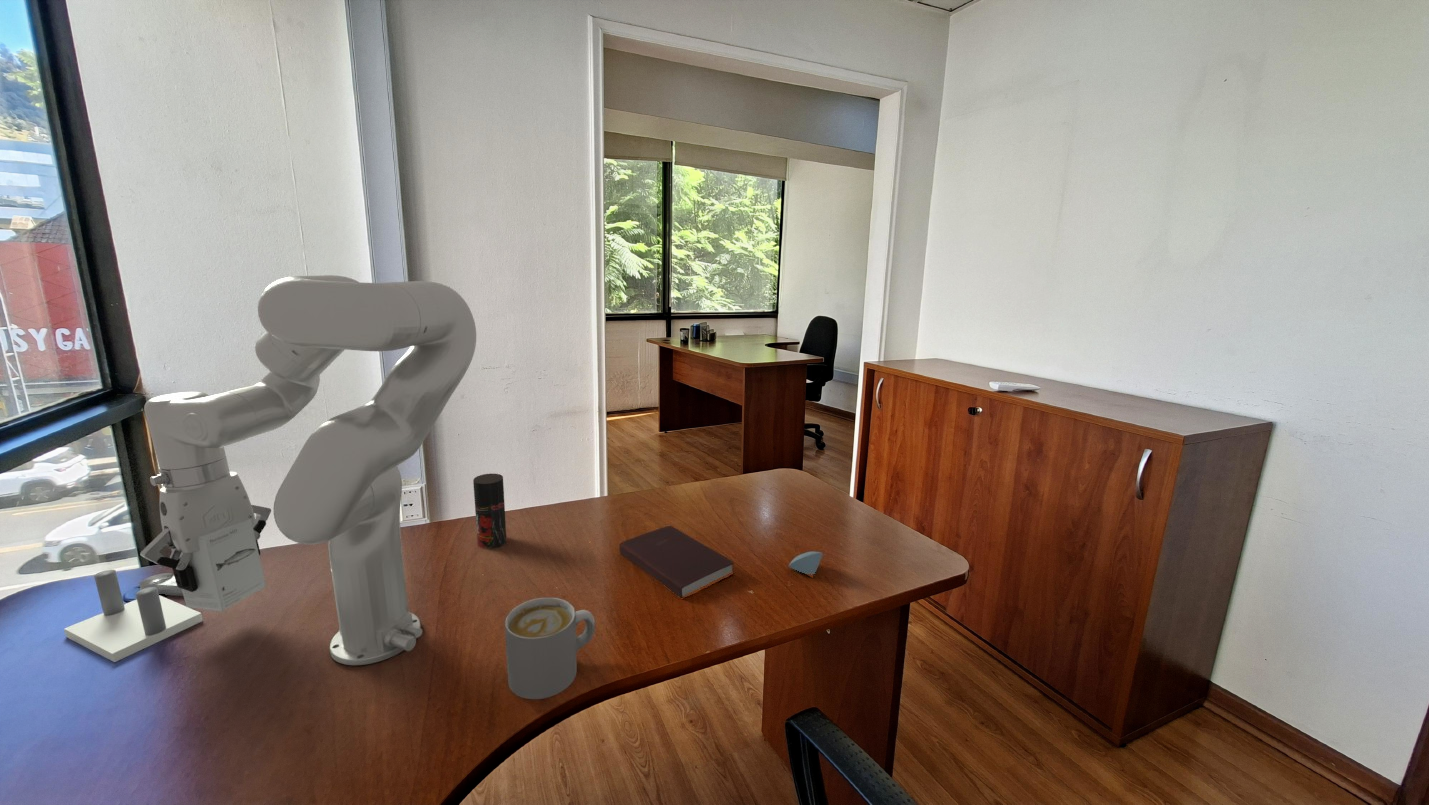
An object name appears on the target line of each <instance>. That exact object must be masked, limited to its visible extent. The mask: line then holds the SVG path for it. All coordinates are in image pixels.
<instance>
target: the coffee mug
mask: <svg viewBox="0 0 1429 805" xmlns="http://www.w3.org/2000/svg"><path fill="white" fill-rule="evenodd" d="M581 621H584V624H585V627H584V631H583V632H582V633H581V634H579V635H577V626H578V624H579V623H580V622H581ZM595 629H596V620H595V617H594V616H593V613H592V612H590V611H589V610H587V609H580V610H576V609H575V607H574V606H573V605H572V604H571V603H570V602H569V601H567V600H564V599H563V598H562V599H561V598H559V597H550V596H549V597H538V598H533V599H530V600H527V601H524V602H522V603H520V604H519V605H516V606H515V607H514V608H513V609H512V610H511V611H509V612H508V614H507V616H506V617H505V621H504V635H505V651H506V652H505V653H506V667H507V668H506V669H507V681H508V682H507V683H508V687H509V689H510V691H511V692H512V693H513V694H514V695H516V696H517V697H519V698H522V699H525V700H526V699H527V700H541V699H542V700H543V699H547V698H551V697H553V696H556V695H558V694H560V693H562V692H564V690H566V689H567V688H569V686H570V685H572V683H573V682H574V681H575V678H576V677H577V673H578V670H577V669H578V666H577V664H578V663H577V662H578V661H577V653H578V651H579V650H580V649H582V648H583V647H584V646H585V645H587V644H588V643H589V642H590V641H591V640H592V639H593V637H594V635H595V631H596V630H595Z"/></svg>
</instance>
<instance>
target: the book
mask: <svg viewBox="0 0 1429 805" xmlns="http://www.w3.org/2000/svg"><path fill="white" fill-rule="evenodd" d="M618 548H619V554H620V555H622V556H623V557H624V558H626V559H627V560H628V561H630V562H631V563H633V564H634V565H636V566H637V568H639V567H640V568H639V569H641V570H642V571H643V570H644V572H645V573H646V574H647V573H648V574H647V575H649V576H650V575H651V576H652V577H654V578H655V579H656V580H658V581H659V582H661V583H662V584H663V585H665V586H666V587H667V588H668V589H670V590H671V591H672V592H674V594H673V595H675V594H676V595H677V596H679V597H680V598H683V596H685V595H687V594H689V593H691V592H693V591H695V590H697V589H699V588H700V587H703V586H705V585H707V584H709V583H710V582H712V581H714V580H717V579H719V578H721V577H723V576H725V575H727V574H729V573H731V572H733V566H734V565H735V562H734V561H733V560H731V559H729V558H727V557H726V556H724V555H723V554H721V553H719V552H717V551H716V550H714V549H712V548H711V547H708V546H707V545H705V544H703V543H701V541H698V540H696V539H695V538H693V537H691V536H689V535H687V534H686V533H685V532H683V531H681V530H679V529H678V528H676V527H674V526H673V525H669V526H668V525H666V526H664V527H661V528H657V529H654V530H652V531H648V532H646V533H643V534H640V535H637V536H634V537H632V538H629V539H627V540H624V541H622V542H620V543H619V546H618ZM651 576H650V577H651ZM652 577H651V578H652ZM654 578H653V579H654ZM655 579H654V580H655ZM656 580H655V581H656ZM658 581H657V582H658ZM659 582H658V583H659ZM662 584H661V585H662ZM663 585H662V586H663ZM666 587H665V588H666ZM667 588H666V589H667ZM668 589H667V590H668ZM670 590H669V591H670ZM671 591H670V592H671ZM672 592H671V593H672ZM676 595H675V596H676ZM677 596H676V597H677ZM680 598H679V599H680Z"/></svg>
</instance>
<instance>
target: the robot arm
mask: <svg viewBox="0 0 1429 805" xmlns="http://www.w3.org/2000/svg"><path fill="white" fill-rule="evenodd" d="M257 314H258V318H259V321H260V323H261V325H262V327H263V328H264V330H265V332H263V333H262V335H260V336H259V338H257V339H256V342H255V346H254V349H255V350H254V351H255V354H256V357H257V358H258V361H259V362H260V364H261V365H262V366H264V367H265V369H266V370H268V371H269V372H268V373H267V374H266V375H265V376H264V377H263V378H262V379H261V380H259V381H258V382H257V383H256V384H253V385H251V386H250V385H249V386H245V387H240V388H236V389H232V390H228V391H224V392H221V393H216V394H213V395H209V394H207V393H205V392H200V391H183V392H173V393H168V394H162V395H158V396H154V397H152V398H150V399H148V400H147V401H146V402H145V404H144V407H143V408H144V409H143V410H144V415H145V419H146V422H147V426H148V430H149V433H150V436H151V441H152V445H153V448H154V452H155V456H156V460H157V463H158V467H159V468H158V469H157V470H158V474H156V475H155V476H151V477H150V478H149V481H150V484H151V485H152V486H153V487H156V486H159V485H160V486H163V487H161V488H160V489H159V516H160V524H161V529H162V531H161V532H160V533H159V534H157V536H156V537H155V538H154V539H152V541H150V543H148V545H146V546H145V547H144V549H143V550H141V551H140V554H139V555H140V557H143V558H144V559H146V560H148V561H150V562H153V563H154V564H156V565H160V566H162V567H166V568H170V569H172V572H173V573H172V574H173V576H174V577H175V580H176V584H177V586H178V587H179V588H181V589H184V590H187V591H190V592H194V591H196V590H197V589H198V586H197V582H196V579H195V575H194V571H193V568H192V567H190V566H188V562H189V560H190V558H191V556H192V554H193V553H194V552H197V551H199V550H200V547H199V543H198V537H200V536H203V535H206V534H208V533H211V532H214V531H217V530H219V529H222V528H225V527H228V526H231V525H234V524H237V523H239V522H242V521H245V520H248V519H249V518H250V519H251V521H252V526H253V530H254V535H255V539H256V544H257V548H258V553H259V556H261V550H260V546H259V542H258V541H259V540H260V538H261V533H262V532H263V530H264V529H265V527H266V525H267V521H268V519H269V517H270V514H271V512H272V509H271V508H270V507H266V506H261V505H255V504H252V503H251V501H250V497H249V495H248V492H247V490H246V488H245V486H244V484H243V482H242V480H241V478H240V476H239V474H238V473H237V472H236V471H230V466H229V463H228V459H227V455H226V451H225V447H228V446H230V445H234V444H237V443H239V442H242V441H246V440H248V439H249V438H253V437H255V436H256V437H257V436H258V435H262V434H266V433H268V432H271V431H274V430H277V429H278V428H281V427H283V426H284V425H286V424H287V423H289V422H290V421H291V420H293V419H294V418H295V417H296V416H297V415H298V414H299V413H300V412H301V411H302V410H303V409H304V408H305V407H306V406H308V405H309V404H310V403H311V401H312V400H314V398H315V396H317V395H316V394H318V393H317V392H318V390H319V386H320V381H321V378H320V377H321V376H320V375H321V374H322V373H323V372H324V371H325V370H326V369H327V368H328V367H329V366H330V365H331V364H332V363H333V362H335V360H336V359H337V358H338V357H339V356H340V355H341V354H342V353H344V351H345V350H346V351H358V352H359V351H361V352H393V351H397V350H402V349H405V348H408V350H407V351H406V352H405V353H404V354H403V355H402V356H401V357H400V359H399V360H398V361H396V363H395V364H394V365H393V366H392V367H391V369H390V370H389V372H388V373H387V375H386V377H385V379H384V381H383V382H382V384H381V385H380V387H379V388H378V390H377V391H376V393H375V394H374V396H373V397H372V398H371V399H370V400H369V401H368V402H367V403H364V404H362V405H361V406H358V407H356V408H354V409H351V410H348V411H346V412H343V413H340V414H338V415H335V416H333V417H331V418H330V419H328V420H326V421H324V422H323V423H322V424H320V425H319V426H318V427H317V428H316V429H315V430H314V431H313V432H312V433H311V434H310V435H309V436H308V438H307V440H306V441H305V443H304V444H303V446H302V448H301V450H300V451H299V453H298V455H297V457H296V459H295V460H294V461H293V463H292V465H291V467H290V469H289V470H288V472H287V474H286V475H285V477H284V479H283V480H282V483H281V484H280V486H279V488H278V490H277V493H276V495H275V498H274V502H273V519H274V522H275V524H276V527H277V529H278V530H279V531H280V532H281V534H282V535H283V536H284V537H285V538H287V539H288V540H289V541H290V540H291V541H292V542H294V543H297V544H301V545H317V544H318V545H319V544H323V543H325V542H328V556H329V564H330V572H331V578H332V586H333V592H334V600H335V608H336V613H337V620H338V621H337V622H338V627H339V628H338V629H339V630H338V632H336V634H335V635H334V636H333V637H332V639H331V640H330V643H329V652H330V653H329V654H330V657H331V658H332V659H333V660H334V661H335V662H337V663H339V664H343V665H346V666H363V665H371V664H375V663H378V662H379V663H380V662H382V661H384V660H387V659H390V658H392V657H395V656H397V655H398V654H400V653H402V652H403V651H406V652H410V651H412V650H413V649H414V648H415V647H416V644H417V639H418V638H420V637H421V636H422V634H423V628H421V627H422V626H421V625H422V624H421V620H420V618H419V617H418V616H417V615H416V614H414V613H412V612H410V611H409V606H408V605H409V604H408V595H407V585H406V576H405V566H404V559H403V558H404V557H403V548H402V536H401V525H400V524H401V522H400V518H401V517H400V513H401V503H402V502H401V501H402V492H403V482H402V474H401V472H400V469H399V467H398V466H399V465H401V464H403V463H404V462H406V461H407V460H409V459H411V458H412V457H413V456H414V455H415V454H416V453H417V452H418V450H419V448H421V447H422V444H423V443H424V441H425V439H426V438H427V436H428V434H429V433H430V431H431V430H432V428H433V427H434V425H435V424H436V421H437V420H438V418H439V417H440V415H441V413H442V412H443V411H444V409H445V407H446V405H447V403H448V402H449V400H450V398H451V397H452V395H453V394H454V392H455V390H456V389H457V388H458V386H459V385H460V383H461V381H462V380H463V378H464V376H465V375H466V373H467V371H468V370H469V368H470V366H471V362H472V360H473V357H474V355H475V351H476V347H477V328H476V322H475V319H474V315H473V313H472V311H471V308H470V307H469V305H468V303H467V302H466V301H465V299H464V298H463V297H462V295H460V293H458V292H457V291H456V290H454V289H453V288H451V287H450V286H449V285H445V284H442V283H439V282H434V281H427V280H425V281H424V280H414V281H412V280H411V281H410V280H409V281H408V280H407V281H388V282H387V281H386V282H360V281H358V280H356V279H353V278H351V277H346V276H342V275H335V274H334V275H330V274H329V275H326V274H325V275H295V276H294V275H293V276H292V275H290V276H286V277H283V278H280V279H277V280H275V281H274V282H271V284H269V285H268V286H267V287H266V288H265V289H264V290H263V291H262V294H261V295H260V298H259V300H258V304H257ZM173 544H174V545H173ZM165 547H167V548H168V549H170V550H171V549H173V551H172V550H171V554H170V555H169V557H167V556H165V555H163V554H162V553H161V551H162V550H163V549H164V548H165Z"/></svg>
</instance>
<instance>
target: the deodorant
mask: <svg viewBox="0 0 1429 805" xmlns="http://www.w3.org/2000/svg"><path fill="white" fill-rule="evenodd" d="M472 480H473V481H472V482H473V496H474V498H473V499H474V509H475V510H474V511H475V522H476V524H475V526H476V540H477V542H476V543H477V547H479V548H481V549H483V550H484V549H485V550H492V549H498V548H500V547H502V546H504V545H505V544H506V543H507V527H506V526H507V525H506V523H507V522H506V511H505V510H506V508H505V507H506V505H505V504H506V503H505V489H504V476H503V475H502V474H499V473H485V474H480V475H477V476H475V477H474V478H473V479H472Z"/></svg>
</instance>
